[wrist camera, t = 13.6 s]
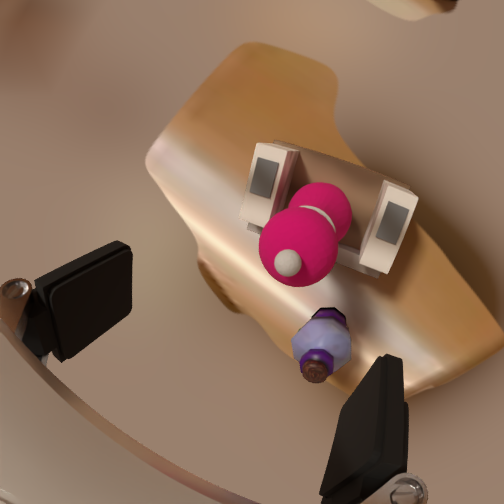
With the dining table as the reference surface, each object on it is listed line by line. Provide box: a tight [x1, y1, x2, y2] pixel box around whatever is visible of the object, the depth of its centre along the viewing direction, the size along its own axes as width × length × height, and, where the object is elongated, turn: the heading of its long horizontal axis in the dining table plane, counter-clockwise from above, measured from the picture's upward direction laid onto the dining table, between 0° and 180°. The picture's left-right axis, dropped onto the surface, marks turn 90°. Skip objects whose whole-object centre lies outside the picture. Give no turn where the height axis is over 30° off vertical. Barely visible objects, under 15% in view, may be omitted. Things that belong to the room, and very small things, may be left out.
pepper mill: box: [259, 182, 352, 287], centre depth 27 cm, size 7×7×20 cm
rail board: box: [239, 140, 418, 279], centre depth 34 cm, size 12×18×8 cm, turn 76°
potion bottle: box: [291, 307, 351, 383], centre depth 37 cm, size 9×9×12 cm
